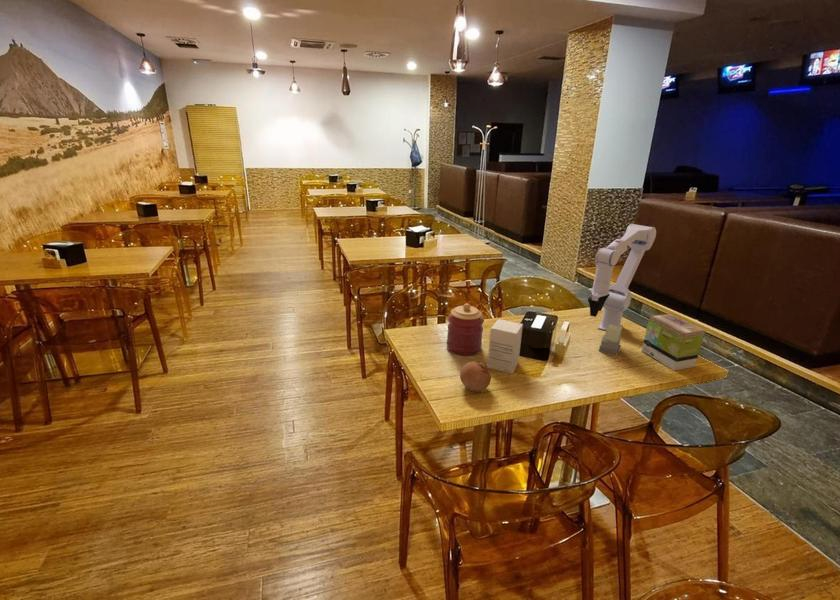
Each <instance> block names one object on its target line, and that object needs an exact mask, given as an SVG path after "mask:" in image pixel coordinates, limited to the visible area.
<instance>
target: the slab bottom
mask: <svg viewBox="0 0 840 600" xmlns="http://www.w3.org/2000/svg"><path fill="white" fill-rule="evenodd" d="M600 346H601V344H600V345H599V347H598V352H601V353H604V354H608V355H611V356H613V357H616V356H617V355H618V353H619V352H620V350H621V347H622V346H621V344H619V348H618V351H617V350H613V349H608V348H604V347H600Z"/></svg>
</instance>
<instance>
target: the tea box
mask: <svg viewBox="0 0 840 600" xmlns="http://www.w3.org/2000/svg"><path fill="white" fill-rule="evenodd" d="M705 334H706V329H704V328H702V327H699V326H698V325H695V324H693V323H690V322H689V321H686V320H684V319H682V318H680V317H679V316H676V315H674V314H671V313H666V314H659V315H651V316H649V319H648V322H647V326H646V331H645V334H644V338H643V343H642V348H641V352H643V353H645V354H646V355H648V356H650V357H651V358H653V359H655V360H656V361H658V362H659V363H661V364H662V365H664V366H666V367H668V369H671V370H672V371H680V370H684V369H690V368H695V367H696V364H697V360H698V357H699V354H700V350H701V347H702V344H703V341H704V338H705Z"/></svg>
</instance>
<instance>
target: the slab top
mask: <svg viewBox="0 0 840 600" xmlns="http://www.w3.org/2000/svg"><path fill="white" fill-rule="evenodd" d="M604 339H605V334H602V338H601V343H600V345H601V346H600V345H599V347H604V348H608V349H613V350H617V351H618V348H619V345H621V344H620V342H621V338H620V339H619V341H618V342H617V343H616V342H612V341H608V340H604Z"/></svg>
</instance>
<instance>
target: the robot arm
mask: <svg viewBox="0 0 840 600" xmlns="http://www.w3.org/2000/svg"><path fill="white" fill-rule="evenodd" d="M656 236H657V230H656V227H655V226H646V225H640V224H636V223H635V224H634V223H630V224H629V225H628V226H627V228H626V230H625V233H624V235H623V236H622V237H621V238H616V239H614V240H613V241H612V242H611V243H609V245H607V246H606V247H602V248H599V249H598V250H597V251H596V254H595V258H594V259H595V265H594V266H595V273H594V279H593V285H592V288H590V287H589V289H588V292H591V294H592V297H591V296H589V297H588V298H587V302H588V305H589V316H590V317H594V318H596V317H597V316H598V313H599V312H601V311H602V310H603V313H602V318H601V323H600V324H599V325H598V326H597V329H599V330H604V331H606V329H607V327H608V326H609V325H613V326H617V327H621V328H622V329H623V325H622V324H621V323H622V317H623V314H624V311H627V309H628V308H629V307H630V305H631V300H632V298H633V294H632V292H631V291H630V289H629V286H630V284H631V283H632V281H633V278H634V275H635V273H636V272H637V269H638V266H639V265H640V263H641V260H642V259H643V256H644V254H645V252H646V251H648V250H650V249H651V248H652V246H653V244H654V242H655V239H656ZM628 247H630V249H631V250H630V251H629V253H628V256H627V258H626V261H625V262H624V265H623V267H622V269H621V271H620V273H619V275H618V278H617V279H616V282H615V283H614V284H612V285H611V281H612V275H613V271H614V266H616V265H617V263H618V261H619V259H620V258H621V257H620V256H621V255H623V254H624V253H625V252H626V251H628Z"/></svg>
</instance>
